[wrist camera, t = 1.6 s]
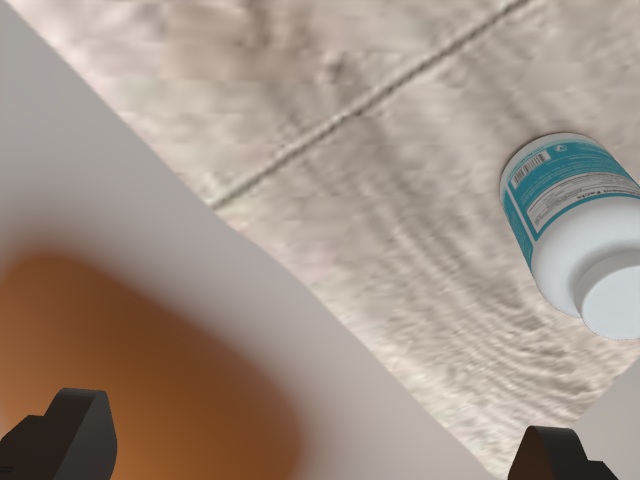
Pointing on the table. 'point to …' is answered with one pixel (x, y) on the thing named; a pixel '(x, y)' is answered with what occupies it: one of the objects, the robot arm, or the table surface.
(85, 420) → the robot arm
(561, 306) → the pill bottle
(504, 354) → the table surface
